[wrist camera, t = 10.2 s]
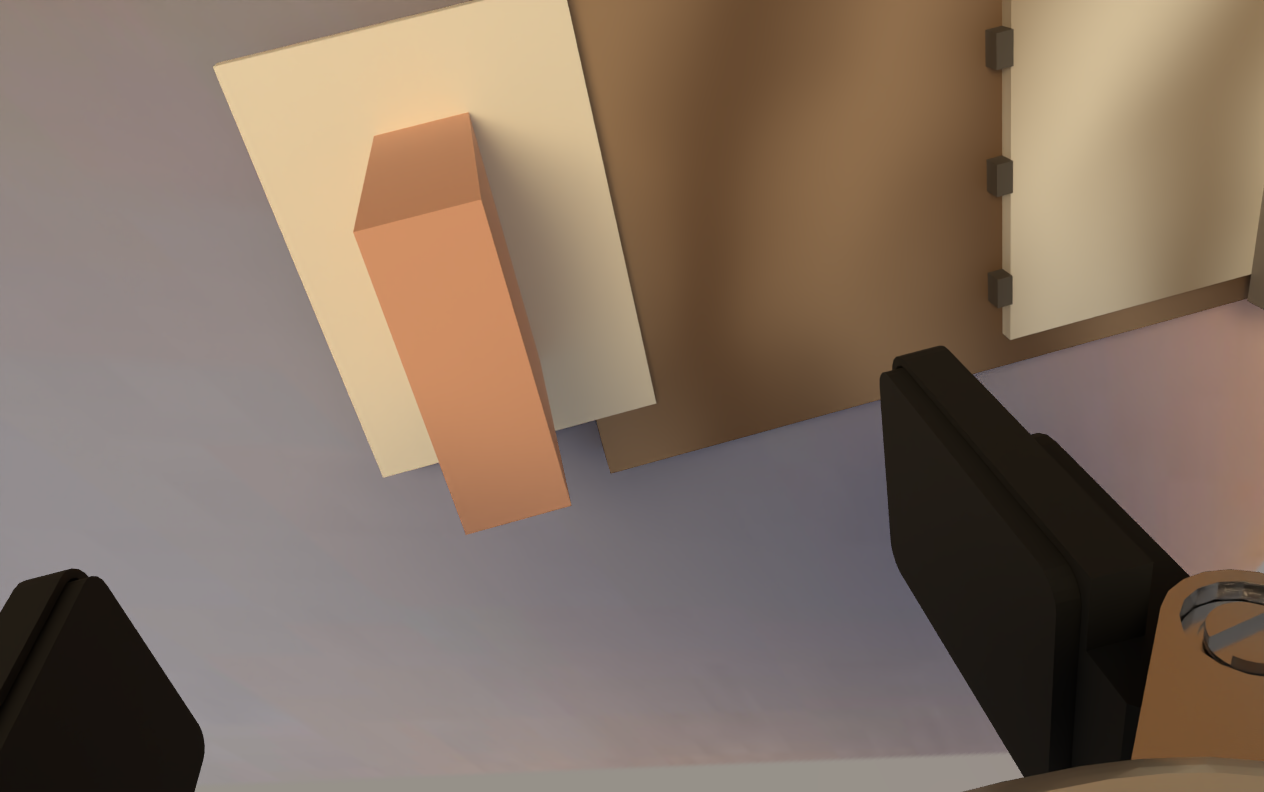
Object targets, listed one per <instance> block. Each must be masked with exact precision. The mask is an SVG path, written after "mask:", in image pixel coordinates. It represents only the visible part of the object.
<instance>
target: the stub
mask: <svg viewBox="0 0 1264 792" xmlns="http://www.w3.org/2000/svg"><path fill="white" fill-rule="evenodd" d="M213 68H214V70H215V73H216V75H217V78H218V80H219V82H220V85H221V87H222V90H223V92H224V94H225V97H226V99H227V102H228V104H229V107H230V109H231V111H232V114H233V116H234V119H235V121H236V123H237V126H238V128H239V131H240V133H241V136H242V138H243V140H244V143H245V145H246V148H247V150H248V152H249V155H250V157H251V160H252V162H253V164H254V167H255V169H256V172H257V174H258V177H259V179H260V181H261V184H262V186H263V189H264V191H265V193H266V196H267V198H268V201H269V203H270V206H271V208H272V210H273V213H274V215H275V218H276V220H277V222H278V225H279V227H280V230H281V232H282V234H283V237H284V239H285V242H286V244H287V247H288V249H289V251H290V254H291V256H292V259H293V261H294V263H295V266H296V268H297V271H298V273H299V276H300V278H301V280H302V283H303V285H304V288H305V290H306V292H307V295H308V297H309V300H310V302H311V305H312V307H313V309H314V312H315V314H316V317H317V319H318V321H319V324H320V326H321V329H322V331H323V333H324V336H325V338H326V341H327V343H328V346H329V348H330V350H331V353H332V355H333V358H334V360H335V362H336V365H337V367H338V370H339V372H340V375H341V377H342V379H343V382H344V384H345V387H346V389H347V391H348V394H349V396H350V399H351V401H352V404H353V406H354V408H355V411H356V413H357V416H358V418H359V420H360V423H361V425H362V428H363V430H364V432H365V435H366V437H367V440H368V442H369V445H370V447H371V449H372V452H373V454H374V457H375V459H376V461H377V464H378V466H379V469H380V471H381V474H382V476H383V478H384V477H387V476H391V475H395V474H398V473H402V472H406V471H409V470H413V469H417V468H420V467H424V466H428V465H431V464H435V463H439V464H440V466H441V469H442V472H443V475H444V477H445V480H446V483H447V485H448V488H449V491H450V493H451V496H452V499H453V501H454V504H455V507H456V509H457V512H458V515H459V517H460V520H461V523H462V525H463V528H464V531H465V533H466V535H467V534H471V533H474V532H478V531H481V530H485V529H489V528H492V527H496V526H500V525H503V524H507V523H510V522H514V521H518V520H521V519H525V518H528V517H532V516H536V515H539V514H543V513H547V512H550V511H554V510H557V509H561V508H565V507H568V506H571V502H570V497H569V492H568V488H567V483H566V479H565V474H564V469H563V465H562V460H561V455H560V451H559V446H558V442H557V437H556V432H555V431H557V430H560V429H564V428H568V427H571V426H575V425H579V424H582V423H586V422H590V421H593V420H597V419H601V418H604V417H608V416H612V415H616V414H619V413H623V412H627V411H630V410H634V409H638V408H641V407H645V406H649V405H652V404H656V400H655V395H654V391H653V386H652V382H651V377H650V373H649V368H648V364H647V359H646V355H645V350H644V345H643V341H642V336H641V332H640V327H639V323H638V318H637V314H636V309H635V305H634V300H633V296H632V291H631V287H630V282H629V278H628V273H627V269H626V264H625V260H624V255H623V251H622V246H621V242H620V237H619V233H618V228H617V224H616V219H615V215H614V210H613V206H612V201H611V197H610V192H609V187H608V183H607V178H606V174H605V169H604V165H603V160H602V156H601V151H600V147H599V142H598V138H597V133H596V129H595V124H594V120H593V115H592V111H591V106H590V102H589V97H588V93H587V88H586V84H585V79H584V75H583V70H582V66H581V61H580V57H579V52H578V48H577V43H576V39H575V34H574V29H573V25H572V20H571V16H570V11H569V7H568V2H567V0H473V1H469V2H465V3H461V4H457V5H452V6H448V7H444V8H440V9H436V10H432V11H428V12H424V13H420V14H416V15H412V16H408V17H403V18H399V19H395V20H391V21H387V22H383V23H379V24H375V25H371V26H367V27H363V28H358V29H354V30H350V31H346V32H342V33H338V34H334V35H330V36H326V37H322V38H318V39H313V40H309V41H305V42H301V43H297V44H293V45H289V46H285V47H281V48H277V49H273V50H268V51H264V52H260V53H256V54H252V55H248V56H244V57H240V58H236V59H232V60H228V61H223V62H219V63H217V64H215V65H214V66H213Z"/></svg>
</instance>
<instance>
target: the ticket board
mask: <svg viewBox="0 0 1264 792" xmlns="http://www.w3.org/2000/svg"><path fill="white" fill-rule="evenodd" d="M567 2H568V7H569V11H570V16H571V20H572V25H573V29H574V34H575V39H576V43H577V48H578V52H579V57H580V61H581V66H582V70H583V75H584V79H585V84H586V88H587V93H588V97H589V102H590V106H591V111H592V115H593V120H594V124H595V129H596V133H597V138H598V142H599V147H600V151H601V156H602V160H603V165H604V169H605V174H606V178H607V183H608V187H609V192H610V197H611V201H612V206H613V210H614V215H615V219H616V224H617V228H618V233H619V237H620V242H621V246H622V251H623V255H624V260H625V264H626V269H627V273H628V278H629V282H630V287H631V291H632V296H633V300H634V305H635V309H636V314H637V318H638V323H639V327H640V332H641V336H642V341H643V345H644V350H645V355H646V359H647V364H648V368H649V373H650V377H651V382H652V386H653V391H654V395H655V400H656V404H652V405H649V406H645V407H641V408H638V409H634V410H630V411H627V412H623V413H619V414H616V415H612V416H608V417H604V418H601V419H597V420H596V422H597V426H598V430H599V434H600V437H601V441H602V445H603V449H604V452H605V456H606V459H607V463H608V466H609V469H610V473H615V472H618V471H622V470H626V469H629V468H633V467H637V466H640V465H644V464H647V463H651V462H655V461H658V460H662V459H666V458H669V457H673V456H676V455H680V454H684V453H687V452H691V451H695V450H698V449H702V448H706V447H709V446H713V445H716V444H720V443H724V442H727V441H731V440H735V439H738V438H742V437H746V436H749V435H753V434H756V433H760V432H764V431H767V430H771V429H775V428H778V427H782V426H786V425H789V424H793V423H796V422H800V421H804V420H807V419H811V418H815V417H818V416H822V415H826V414H829V413H833V412H836V411H840V410H844V409H847V408H851V407H855V406H858V405H862V404H865V403H869V402H873V401H876V400H880V375H881V374H882V373H883V372H887V371H891V370H892V364H893V360H894V359H895V357H897V356H900V355H904V354H908V353H912V352H916V351H920V350H924V349H928V348H932V347H935V346H945V347H946V348H947V349H949V351H950V352H951V353H952V354H953V355H954V356H955V357H956V358H957V359H958V360H959V361H960V362H961V363H962V364H963V365H964V366H965V367H966V368H967V369H968V370H969V371H970V372H971V373H972V374H975V373H978V372H982V371H985V370H989V369H993V368H996V367H1000V366H1004V365H1007V364H1011V363H1014V362H1018V361H1022V360H1025V359H1029V358H1033V357H1036V356H1040V355H1044V354H1047V353H1051V352H1054V351H1058V350H1062V349H1065V348H1069V347H1073V346H1076V345H1080V344H1084V343H1087V342H1091V341H1094V340H1098V339H1102V338H1105V337H1109V336H1113V335H1116V334H1120V333H1124V332H1127V331H1131V330H1134V329H1138V328H1142V327H1145V326H1149V325H1153V324H1156V323H1160V322H1164V321H1167V320H1171V319H1174V318H1178V317H1182V316H1185V315H1189V314H1193V313H1196V312H1200V311H1203V310H1207V309H1211V308H1214V307H1218V306H1222V305H1225V304H1229V303H1233V302H1236V301H1240V300H1243V299H1247V298H1248V300H1247V301H1249V302H1250V303H1252V304H1254V305H1256V306H1258V307H1260V308H1262V309H1263V310H1264V0H567Z"/></svg>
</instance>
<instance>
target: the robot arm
mask: <svg viewBox="0 0 1264 792" xmlns="http://www.w3.org/2000/svg"><path fill="white" fill-rule="evenodd" d="M880 399H881V413H882V426H883V440H884V454H885V468H886V481H887V495H888V509H889V522H890V536H891V546H892V551H893V555H894V558H895V561H896V564H897V566H898V569H899V571H900V573H901V575H902V576H903V578H904V579H905V581H906V583H907V584H908V586H909V588H910V589H911V591H912V593H913V594H914V596H915V598H916V599H917V601H918V603H919V604H920V606H921V608H922V609H923V611H924V613H925V614H926V616H927V618H928V619H929V621H930V622H931V624H932V626H933V627H934V629H935V631H936V632H937V634H938V636H939V637H940V639H941V641H942V642H943V644H944V646H945V647H946V649H947V651H948V652H949V654H950V656H951V657H952V659H953V661H954V662H955V664H956V665H957V667H958V669H959V670H960V672H961V674H962V675H963V677H964V679H965V680H966V682H967V684H968V685H969V687H970V689H971V690H972V692H973V694H974V695H975V697H976V699H977V700H978V702H979V704H980V705H981V707H982V708H983V710H984V712H985V713H986V715H987V717H988V718H989V720H990V722H991V723H992V725H993V727H994V728H995V730H996V732H997V733H998V735H999V737H1000V738H1001V740H1002V742H1003V743H1004V745H1005V747H1006V748H1007V750H1008V751H1009V753H1010V755H1011V756H1012V758H1013V760H1014V761H1015V763H1016V765H1017V766H1018V768H1019V770H1020V771H1021V773H1022V775H1023V776H1024V778H1019V779H1014V780H1010V781H1004V782H1000V783H996V784H992V785H988V786H984V787H980V788H976V789H972V790H968V791H964V792H1264V574H1263V573H1260V572H1251V571H1242V570H1232V569H1229V570H1218V571H1207V572H1203V573H1200V574H1197V575H1194V576H1191V577H1190V576H1189V575H1188V574H1187V573H1186V572H1185V571H1184V570H1183V569H1182V568H1181V567H1180V566H1179V565H1178V564H1177V563H1176V562H1175V561H1174V560H1173V559H1172V558H1171V557H1170V556H1169V555H1168V554H1167V553H1166V552H1165V551H1164V550H1163V549H1162V548H1161V547H1160V546H1159V545H1158V544H1157V543H1156V542H1155V541H1154V540H1153V539H1152V538H1151V537H1150V536H1149V535H1148V534H1147V533H1146V532H1145V531H1144V530H1143V529H1142V528H1141V527H1140V526H1139V525H1138V524H1137V523H1136V522H1135V521H1134V520H1133V519H1132V518H1131V517H1130V516H1129V515H1128V514H1127V513H1126V512H1125V511H1124V510H1123V509H1122V508H1121V507H1120V506H1119V505H1118V504H1117V503H1116V502H1115V501H1114V500H1113V499H1112V498H1111V497H1110V496H1109V495H1108V494H1107V493H1106V492H1105V491H1104V490H1103V489H1102V488H1101V487H1100V485H1099V484H1098V483H1097V482H1096V481H1095V480H1094V479H1093V478H1092V477H1091V476H1090V475H1089V474H1088V473H1087V472H1086V471H1085V470H1084V469H1083V468H1082V467H1081V466H1080V465H1079V464H1078V463H1077V462H1076V461H1075V460H1074V459H1073V458H1072V457H1071V456H1070V455H1069V454H1068V453H1067V452H1066V451H1065V450H1064V449H1063V448H1062V447H1061V446H1060V445H1059V444H1058V443H1057V442H1056V441H1054V440H1053V439H1052V438H1050V437H1049V436H1048V435H1046V434H1041V433H1036V434H1032V435H1030V434H1029V433H1028V431H1027V430H1026V429H1025V428H1024V427H1023V426H1022V425H1021V424H1020V423H1019V422H1018V421H1017V420H1016V419H1015V418H1014V417H1013V416H1012V415H1011V414H1010V413H1009V412H1008V411H1007V410H1006V409H1005V408H1004V407H1003V406H1002V404H1001V403H1000V402H999V401H998V400H997V399H996V398H995V397H994V396H993V395H992V394H991V393H990V392H989V391H988V390H987V389H986V388H985V387H984V386H983V385H982V384H981V383H980V382H979V381H978V380H977V379H976V378H975V376H974V375H973V374H972V373H971V372H970V371H969V370H968V369H967V368H966V367H965V366H964V365H963V364H962V363H961V362H960V361H959V360H958V359H957V358H956V357H955V356H954V355H953V354H952V353H951V352H950V351H949V349H947V348H946V347H945V346H935V347H932V348H928V349H924V350H920V351H916V352H912V353H908V354H904V355H900V356H897V357H895V359H894V360H893V364H892V370H891V371H887V372H883V373H882V374H881V375H880ZM204 747H205V745H204V738H203V734H202V731H201V728H200V726H199V724H198V723H197V721H196V720H195V718H194V717H193V715H192V714H191V712H190V711H189V709H188V708H187V706H186V705H185V703H184V702H183V700H182V698H181V697H180V695H179V694H178V692H177V691H176V689H175V688H174V686H173V685H172V683H171V682H170V680H169V679H168V677H167V676H166V674H165V673H164V671H163V670H162V668H161V667H160V665H159V664H158V662H157V661H156V659H155V657H154V656H153V654H152V653H151V651H150V650H149V648H148V647H147V645H146V644H145V642H144V641H143V639H142V638H141V636H140V635H139V633H138V632H137V630H136V629H135V627H134V626H133V624H132V623H131V621H130V620H129V618H128V616H127V615H126V613H125V612H124V610H123V609H122V607H121V606H120V604H119V603H118V601H117V600H116V598H115V597H114V595H113V594H112V592H111V591H110V589H109V588H108V586H107V585H106V584H105V582H104V581H103V580H102V579H100V578H99V577H96V576H91V577H88V576H87V575H86V574H85V573H84V572H82V571H81V570H79V569H68V570H64V571H60V572H57V573H53V574H49V575H45V576H41V577H37V578H33V579H29V580H26V581H23V582H21V583H19V584H18V585H17V587H16V588H15V589H14V590H13V592H12V594H11V595H10V597H9V599H8V600H7V602H6V604H5V605H4V607H3V609H2V610H1V612H0V792H194V791H195V788H196V784H197V780H198V777H199V773H200V770H201V766H202V762H203V758H204Z"/></svg>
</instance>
